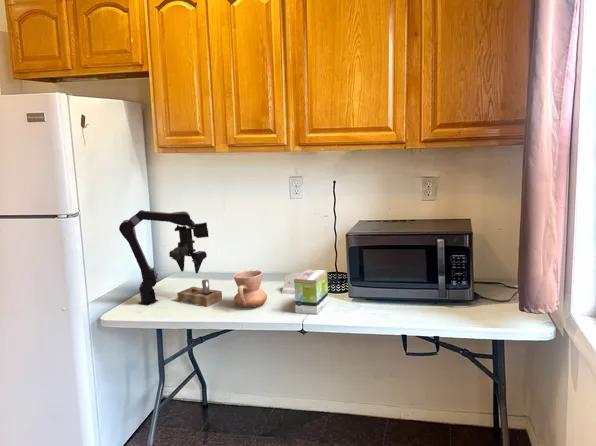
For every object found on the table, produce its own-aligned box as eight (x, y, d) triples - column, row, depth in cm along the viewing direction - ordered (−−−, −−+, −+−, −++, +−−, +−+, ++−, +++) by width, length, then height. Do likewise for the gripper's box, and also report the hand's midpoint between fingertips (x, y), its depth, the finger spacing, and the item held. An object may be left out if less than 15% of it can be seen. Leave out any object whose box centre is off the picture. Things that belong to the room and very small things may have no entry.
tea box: (318, 314, 219) (316, 279, 217) (295, 313, 223) (292, 278, 220) (329, 302, 233) (327, 269, 230) (307, 301, 237) (304, 268, 234)
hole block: (178, 301, 249) (177, 292, 248) (193, 294, 257) (192, 286, 256) (207, 306, 239) (206, 297, 238) (222, 299, 247) (221, 291, 246)
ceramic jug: (245, 297, 248) (242, 267, 245) (274, 299, 242) (271, 268, 239) (225, 311, 231) (221, 279, 229) (255, 313, 226) (252, 281, 223)
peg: (202, 302, 245) (200, 280, 243) (207, 300, 247) (205, 279, 245) (207, 303, 243) (205, 281, 241) (212, 301, 246) (210, 279, 244)
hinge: (281, 293, 250) (282, 271, 251) (285, 293, 254) (286, 272, 256) (315, 295, 244) (316, 272, 245) (319, 295, 248) (320, 273, 250)
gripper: (158, 241, 247) (162, 275, 250) (188, 244, 236) (191, 279, 239) (176, 236, 256) (180, 268, 259) (205, 239, 245) (209, 272, 248)
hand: (189, 272), depth 251 cm, fingers open, 9 cm apart
